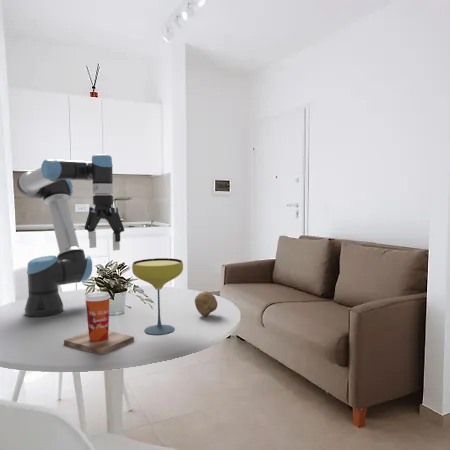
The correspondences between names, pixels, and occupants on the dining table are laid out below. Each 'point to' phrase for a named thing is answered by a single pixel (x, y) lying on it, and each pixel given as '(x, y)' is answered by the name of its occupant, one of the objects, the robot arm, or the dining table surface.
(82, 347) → the walnut board
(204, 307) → the natural sponge
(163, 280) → the cocktail glass
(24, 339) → the dining table surface
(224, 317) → the dining table surface
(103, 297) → the coffee cup
